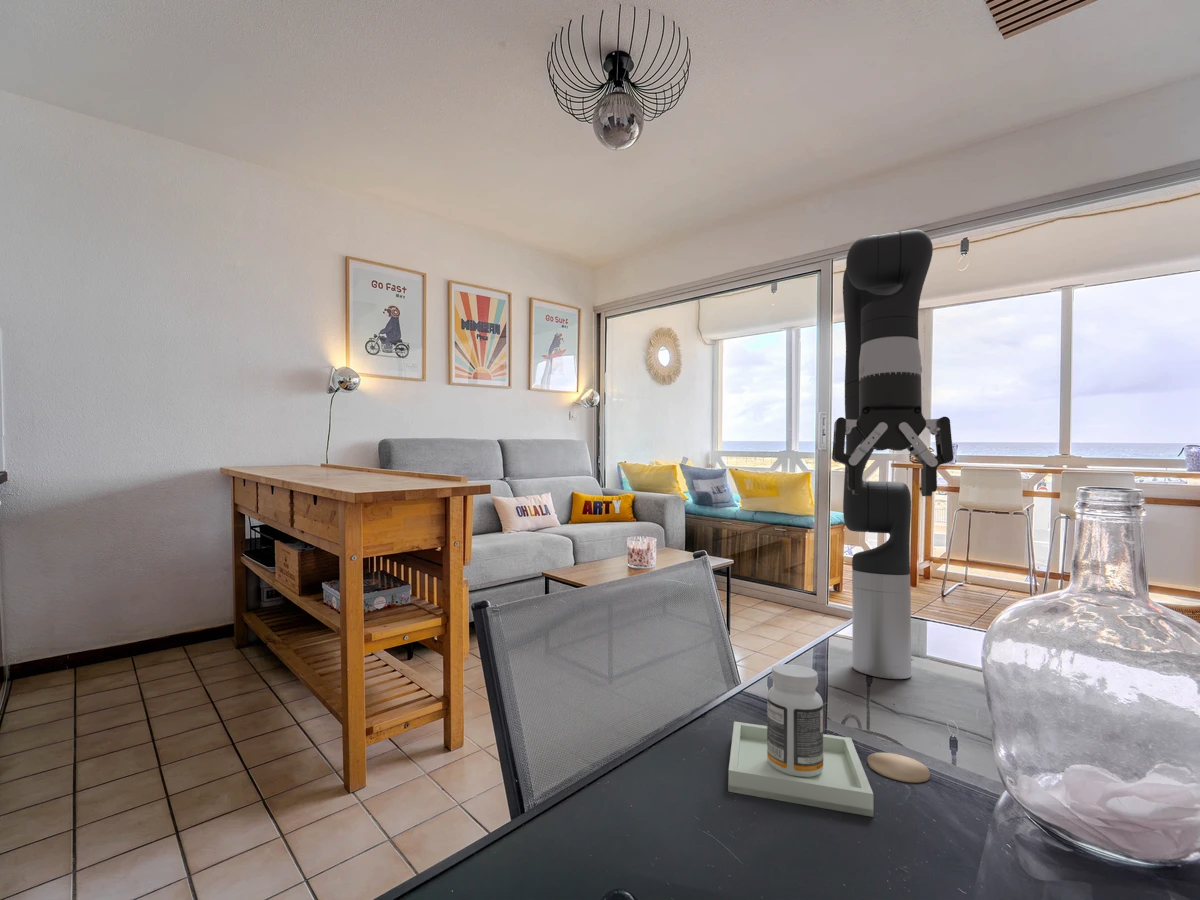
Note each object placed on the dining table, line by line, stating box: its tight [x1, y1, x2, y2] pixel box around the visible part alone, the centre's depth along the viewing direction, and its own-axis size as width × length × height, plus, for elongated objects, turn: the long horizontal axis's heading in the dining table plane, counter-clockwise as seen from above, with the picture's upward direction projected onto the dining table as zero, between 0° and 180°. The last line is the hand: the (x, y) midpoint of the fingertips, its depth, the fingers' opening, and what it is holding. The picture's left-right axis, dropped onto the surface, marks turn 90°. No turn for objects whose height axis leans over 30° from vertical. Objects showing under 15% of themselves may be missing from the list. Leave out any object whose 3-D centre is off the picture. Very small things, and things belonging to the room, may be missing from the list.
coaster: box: [867, 752, 931, 784], centre depth 61 cm, size 6×6×1 cm
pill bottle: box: [766, 663, 824, 777], centre depth 60 cm, size 6×6×10 cm
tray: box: [727, 721, 875, 818], centre depth 59 cm, size 13×13×2 cm
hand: (890, 495), depth 75 cm, fingers open, 8 cm apart
